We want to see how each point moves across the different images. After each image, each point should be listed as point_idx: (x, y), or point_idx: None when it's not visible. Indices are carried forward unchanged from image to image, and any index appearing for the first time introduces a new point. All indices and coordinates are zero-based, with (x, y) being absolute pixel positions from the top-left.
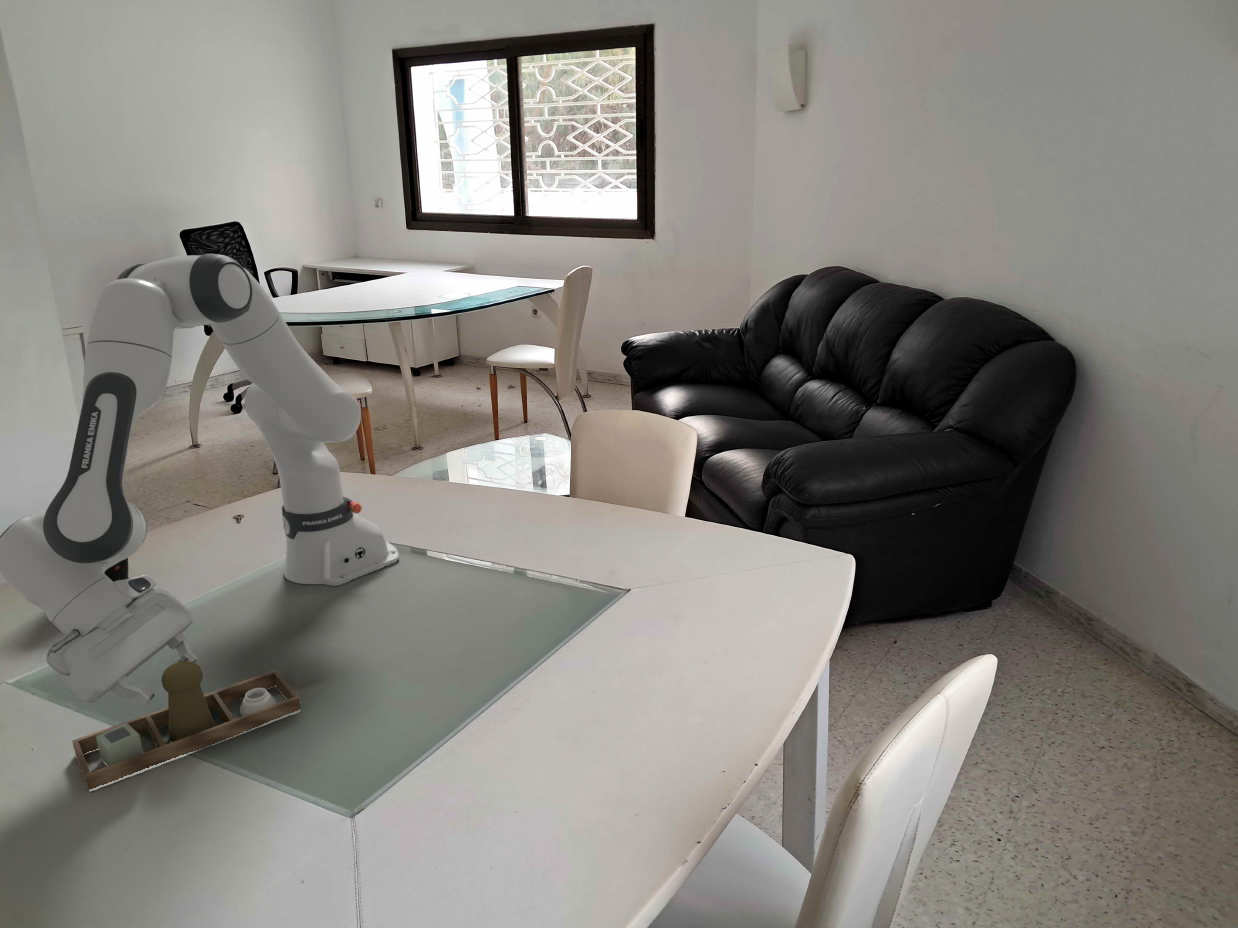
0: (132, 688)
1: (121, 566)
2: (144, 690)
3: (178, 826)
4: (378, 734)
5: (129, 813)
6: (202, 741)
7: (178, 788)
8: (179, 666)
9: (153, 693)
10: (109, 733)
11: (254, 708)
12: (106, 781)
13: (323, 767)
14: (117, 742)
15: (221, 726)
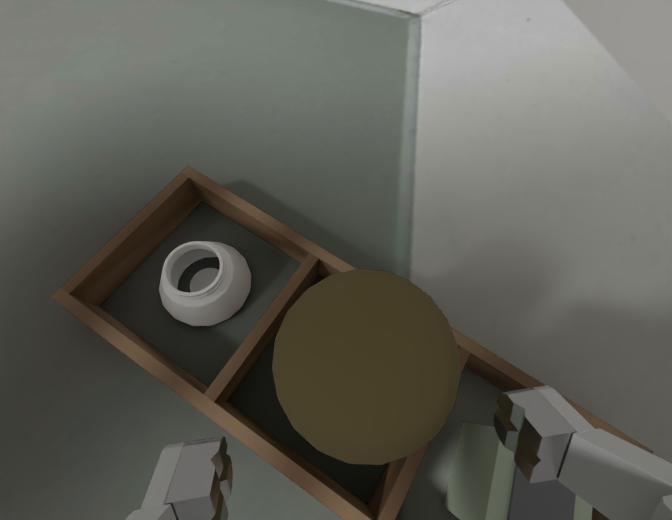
0: (642, 458)
1: None
2: (560, 421)
3: (556, 197)
4: (241, 48)
5: (588, 300)
6: None
7: (494, 263)
8: (375, 357)
9: (509, 396)
10: None
11: (235, 260)
12: None
13: (345, 82)
14: None
15: (345, 263)
